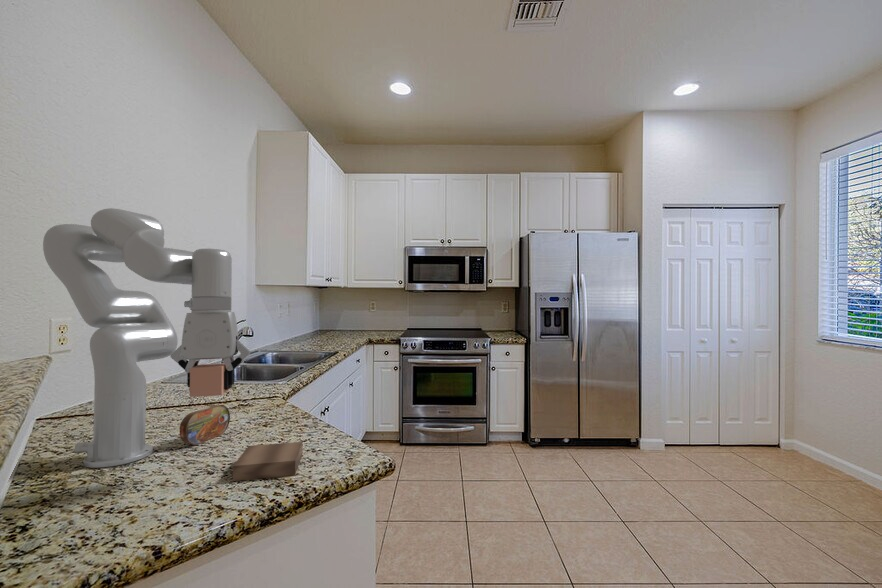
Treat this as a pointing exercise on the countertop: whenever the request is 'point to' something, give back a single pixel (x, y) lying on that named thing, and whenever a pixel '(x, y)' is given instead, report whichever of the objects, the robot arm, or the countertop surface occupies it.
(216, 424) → the tin
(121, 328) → the robot arm
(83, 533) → the countertop surface
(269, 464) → the base
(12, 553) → the countertop surface
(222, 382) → the cube
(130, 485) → the countertop surface
